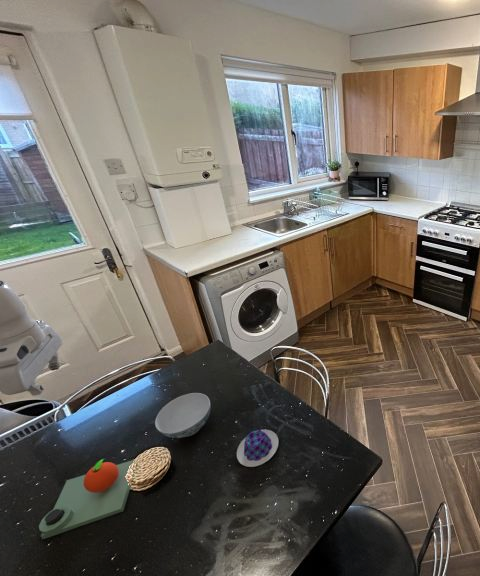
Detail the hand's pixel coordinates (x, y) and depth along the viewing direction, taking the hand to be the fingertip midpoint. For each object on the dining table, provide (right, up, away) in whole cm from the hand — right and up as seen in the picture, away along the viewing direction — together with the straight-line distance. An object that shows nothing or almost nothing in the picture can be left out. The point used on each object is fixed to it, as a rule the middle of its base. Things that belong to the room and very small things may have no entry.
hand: (48, 380), depth 83 cm
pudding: (+51, -25, +12) cm, 58 cm away
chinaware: (+27, -21, +18) cm, 39 cm away
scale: (+13, -31, 0) cm, 34 cm away
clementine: (+14, -29, +2) cm, 32 cm away
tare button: (+9, -32, -7) cm, 34 cm away
